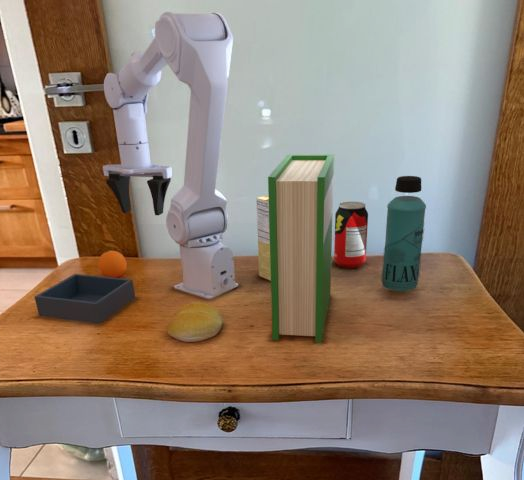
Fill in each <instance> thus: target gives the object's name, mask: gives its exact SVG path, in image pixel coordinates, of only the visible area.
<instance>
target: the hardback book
mask: <svg viewBox="0 0 524 480" xmlns="http://www.w3.org/2000/svg"><path fill="white" fill-rule="evenodd" d="M334 175H335V154H286V155H285V156H284V158H283V159H282V160H281V161H280V162H279V164H278V165H277V166H276V167H275V168H274V169H273V170H272V171H271V173H270V174H269V175H268V176H267V186H268V187H267V191H268V194H267V195H269V230H270V267H271V281H270V297H271V298H270V299H271V300H270V301H271V303H270V304H271V335H272V337H271V338H272V341H279V340H280V337H281V335H283V336H284V335H285V336H302V337H315V339H314V342H315V343H322V341H323V337H324V331H325V326H326V321H327V315H328V310H329V306H330V300H331V286H332V285H331V284H332V282H331V281H332V252H333V251H332V250H333V249H332V248H333V217H334V216H333V211H334Z"/></svg>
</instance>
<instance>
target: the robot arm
mask: <svg viewBox="0 0 524 480" xmlns="http://www.w3.org/2000/svg"><path fill="white" fill-rule="evenodd" d="M233 44H234V35H233V33H232V31H231V29H230V27H229V24H228V22H227V20H226V19H225V17H224V16H223V14H221V13H219V12H212V13H176V12H175V13H173V12H171V11H165V12H163V13H162V14H161V15H160V16H159V19H158V20H157V21H155V22H154V37H153V39H152V40H151V41H150V43H149V45H148V46H147V48H146V49H145V50H144V51H141V50H139V51H138V50H136V51H134V50H133V52H131V54H130V56H131V57H130V58H129V60H128V61H126V63H125V64H124V65H122V67H121V69H120V70H119V71H118V72H117V73H114V72H108V73H106V75H105V77H104V81H103V91H104V92H103V93H104V98H105V100H106V102H107V104H108V106H109V107H110V108H111V109H112V112H113V113H112V114H113V119H114V127H115V132H116V139H117V140H116V141H117V144H118V145H117V147H118V151H119V153H118V154H119V159H120V164H105V165H103V166H102V171H103V177H108V178H107V179H105V183H106V185H107V186H108V188H109V189H110V190H111V191H112V193H113V195H114V196H115V198H116V200H117V203H118V204H119V207H120V210H121V212H122V214H128V213H129V212H131V211H132V204H131V198H130V197H131V196H130V178H131V177H136V178H137V177H138V178H150V179H147V180H146V184H147V186H148V188H149V192H150V195H151V199H152V207H153V211H154V212H153V213H154V216H160V215H162V214H164V208H165V200H166V195H167V192H168V188H169V186H170V183H171V182H172V181H171V180H172V179H171V178H172V177H173V169H172V166H167V165H159V164H152V161H151V153H150V145H149V144H150V143H149V138H148V129H147V122H146V116H148V102H149V93H150V92H151V90H152V89H154V88H155V87H156V86H157V85H158V84H159V83H160V81H161V78H162V71H163V69H164V68H166V67H167V66H168V67H169V68H170V69H171V71H172V72H173V73H174V75H175V77H176V78H177V79H178V81H180V82H182V83H184V84H186V85H187V86H188V88H189V90H190V98H189V108H188V109H189V112H188V123H187V124H188V125H187V138H186V150H185V163H184V176H183V177H184V178H183V186H182V187H181V188H180V189H179V190H178V191H177V192H175V194H174V195H173V196H172V197H171V198H170V206H169V209H168V211H167V214H166V217H165V224H166V225H165V226H166V230H167V232H168V235H169V237H170V238H171V239H172V240H173V242H175V244H178V245H179V253H180V262H181V273H182V280H183V281H182V282H180V283H177V284H175V285H174V286H173V289H175V290H177V291H181V292H184V293H187V294H190V295H194V296H197V297H201V298H203V299H207V300H211V299H214V298H216V297H219V296H220V295H223V294H224V293H227V292H229V291H231V290H234V289H235V288H237V287H239V283H238V282H236V274H235V258H234V253H233V251H232V249H231V248H229V247H228V246H226V245H224V244H223V243H222V242H221V240H223V238H224V236H223V234H224V233H225V232H226V230H227V229H228V224H229V216H228V211H227V209H228V208H227V207H228V206H227V205H228V200H227V199H226V197H225V196H224V194H222V192H220V191H219V190H218V189H216V187H217V177H218V169H219V161H220V154H221V153H220V152H221V143H222V134H223V128H224V127H223V126H224V117H225V110H226V109H225V108H226V100H227V93H228V92H227V91H228V78H229V76H230V68H231V60H232V51H233Z"/></svg>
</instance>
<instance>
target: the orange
mask: <svg viewBox="0 0 524 480" xmlns="http://www.w3.org/2000/svg"><path fill="white" fill-rule="evenodd" d="M104 251H105V252H103V253H102V254H101V255H100V256H99V259H98V261H97V265H98V270H99V271H100V273H101V274H102V276H103V277H112V278H120V277H122V276H123V275H124V274H125V272H126V270H127V264H128V263H127V260H126V258H125V256H124V255H123V254H122V253H120V251H116V250H109V249H106V250H104Z"/></svg>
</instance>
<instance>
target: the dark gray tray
mask: <svg viewBox="0 0 524 480" xmlns="http://www.w3.org/2000/svg"><path fill="white" fill-rule="evenodd" d="M135 292H136V291H135V286H134V281H133V279H132V278H130V279H129V278H120V277H118V278H112V277H106V276H103V275H102V276H100V275H99V276H98V275H91V274H80V273H74V274H72V275H70V276H69V277H66V278H65V279H63V280H61V281H60V282H57V283H56V284H54V285H52V286H50V287H48V288H47V289H45V290H43V291H42V292H40V293H39V294H37V295H35V296H34V301H35V305H36V309H37V313H38V317H44V318H51V319H52V318H53V319H59V320H67V321H74V322H82V323H90V324H98V325H101V324H102V323H104V322H105V321H106V320H108V319H109V318H110V317H112V316H113V315H114V314H116V313H117V312H118V311H120V310H122V308H124V307H126V306H127V305H128V304H129V303H131V302H132V301H134V300H135V299H136V294H135Z"/></svg>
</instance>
